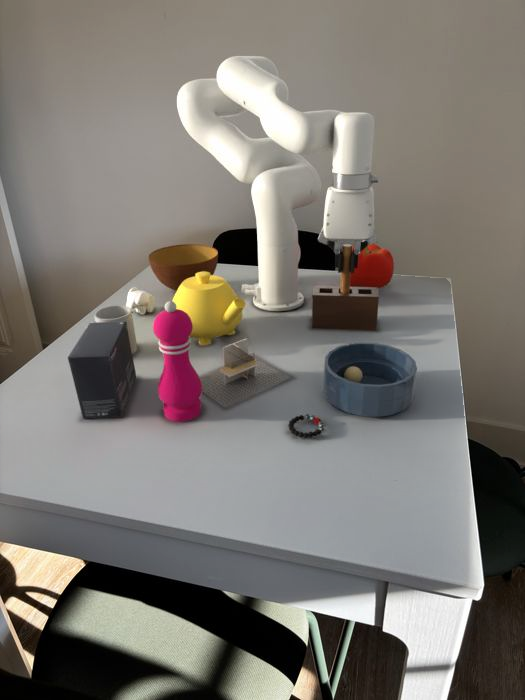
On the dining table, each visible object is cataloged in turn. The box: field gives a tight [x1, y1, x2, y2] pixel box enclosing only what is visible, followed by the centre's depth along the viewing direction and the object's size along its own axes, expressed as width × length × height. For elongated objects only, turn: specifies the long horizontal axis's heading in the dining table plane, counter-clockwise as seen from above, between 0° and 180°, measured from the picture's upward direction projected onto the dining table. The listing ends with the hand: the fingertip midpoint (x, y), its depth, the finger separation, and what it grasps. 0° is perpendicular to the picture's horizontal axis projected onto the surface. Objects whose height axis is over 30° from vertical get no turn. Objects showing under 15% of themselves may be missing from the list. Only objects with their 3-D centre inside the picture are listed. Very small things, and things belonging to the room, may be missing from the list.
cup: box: [85, 304, 138, 356], centre depth 105 cm, size 7×10×9 cm
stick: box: [339, 243, 353, 294], centre depth 113 cm, size 2×2×18 cm
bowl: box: [148, 243, 219, 293], centre depth 136 cm, size 18×18×10 cm
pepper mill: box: [152, 300, 203, 423], centre depth 83 cm, size 7×7×20 cm
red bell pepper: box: [350, 243, 395, 290], centre depth 135 cm, size 14×13×10 cm
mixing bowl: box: [323, 341, 418, 418], centre depth 89 cm, size 15×15×6 cm
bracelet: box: [287, 413, 325, 439], centre depth 82 cm, size 6×6×1 cm
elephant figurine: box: [125, 286, 156, 316], centre depth 124 cm, size 7×8×6 cm
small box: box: [67, 321, 137, 419], centre depth 90 cm, size 13×7×12 cm, turn 1°
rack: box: [311, 285, 380, 332], centre depth 115 cm, size 6×14×8 cm, turn 82°
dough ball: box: [344, 366, 363, 383], centre depth 92 cm, size 3×3×3 cm
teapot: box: [172, 271, 246, 346], centre depth 110 cm, size 20×16×14 cm
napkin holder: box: [218, 337, 260, 384], centre depth 94 cm, size 3×7×7 cm, turn 129°
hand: (345, 270), depth 111 cm, fingers closed on stick, 2 cm apart
